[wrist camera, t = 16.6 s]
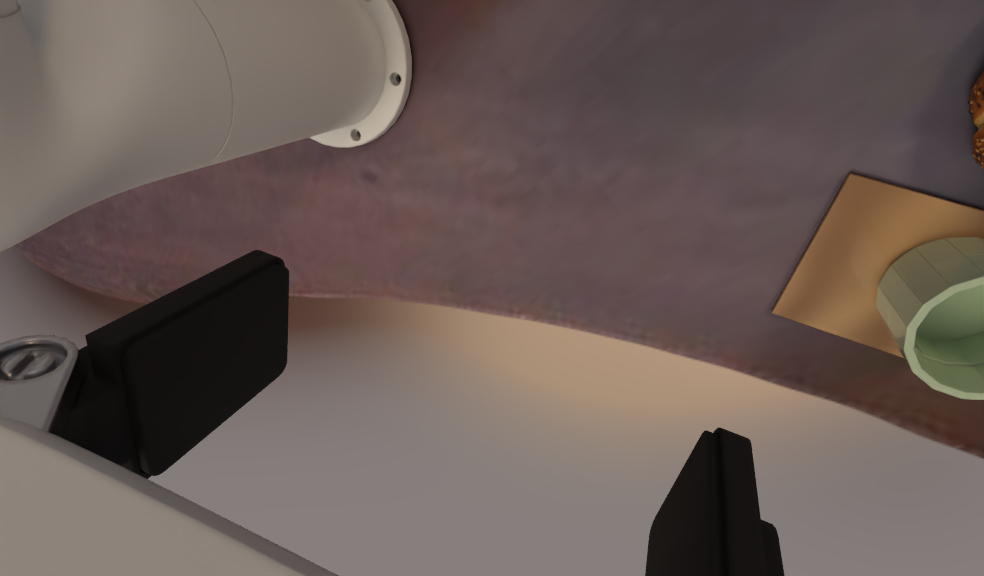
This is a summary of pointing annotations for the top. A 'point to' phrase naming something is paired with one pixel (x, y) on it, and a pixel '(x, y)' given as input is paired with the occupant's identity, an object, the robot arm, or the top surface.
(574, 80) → the top surface
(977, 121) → the seeded bagel
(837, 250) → the cork mat
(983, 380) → the green cup
